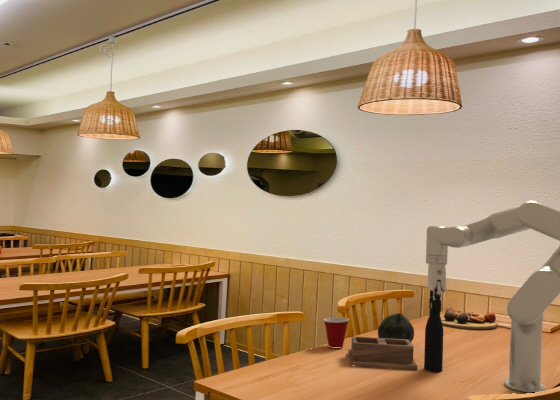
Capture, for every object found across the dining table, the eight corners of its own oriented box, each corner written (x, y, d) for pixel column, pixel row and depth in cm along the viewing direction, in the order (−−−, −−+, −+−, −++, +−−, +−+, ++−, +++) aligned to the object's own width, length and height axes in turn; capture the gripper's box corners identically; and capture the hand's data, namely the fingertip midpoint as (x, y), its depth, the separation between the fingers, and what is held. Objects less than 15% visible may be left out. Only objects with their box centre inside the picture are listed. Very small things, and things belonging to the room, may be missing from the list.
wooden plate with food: (502, 323, 284) (502, 308, 284) (491, 333, 257) (491, 316, 257) (442, 316, 301) (442, 302, 301) (425, 325, 274) (425, 309, 274)
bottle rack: (417, 370, 191) (418, 349, 191) (350, 366, 193) (351, 345, 193) (409, 356, 209) (409, 337, 209) (348, 353, 211) (348, 334, 211)
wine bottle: (443, 373, 189) (445, 288, 189) (424, 371, 190) (427, 287, 191) (441, 368, 195) (443, 286, 196) (423, 366, 196) (425, 285, 197)
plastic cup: (331, 342, 227) (332, 314, 227) (353, 347, 220) (354, 318, 220) (316, 347, 218) (317, 318, 219) (338, 352, 212) (339, 322, 212)
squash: (381, 326, 238) (380, 305, 229) (416, 331, 233) (415, 309, 224) (376, 353, 228) (374, 331, 219) (412, 359, 223) (411, 337, 214)
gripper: (452, 262, 185) (450, 315, 184) (441, 258, 201) (440, 306, 201) (430, 261, 185) (429, 314, 185) (421, 257, 202) (420, 305, 202)
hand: (435, 309), depth 193 cm, fingers closed on wine bottle, 3 cm apart
